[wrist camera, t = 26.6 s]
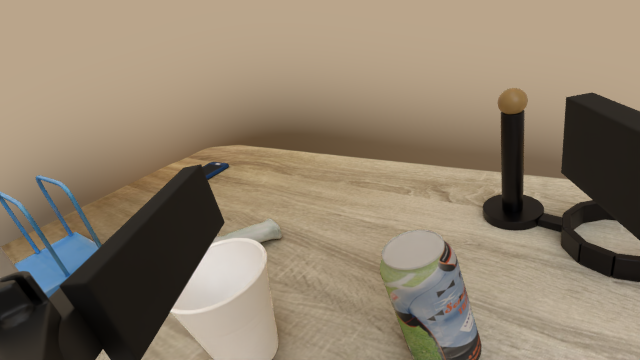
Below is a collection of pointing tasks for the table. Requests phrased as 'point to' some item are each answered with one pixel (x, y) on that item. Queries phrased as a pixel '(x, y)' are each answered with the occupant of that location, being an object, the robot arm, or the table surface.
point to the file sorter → (54, 245)
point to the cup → (230, 302)
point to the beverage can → (429, 297)
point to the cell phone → (214, 168)
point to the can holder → (529, 212)
